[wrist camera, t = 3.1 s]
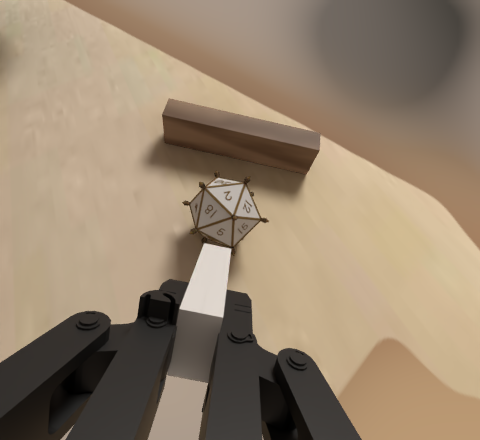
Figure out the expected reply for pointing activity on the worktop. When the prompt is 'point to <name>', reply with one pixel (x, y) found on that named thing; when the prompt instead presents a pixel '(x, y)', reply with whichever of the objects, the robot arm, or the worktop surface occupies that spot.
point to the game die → (224, 211)
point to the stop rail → (239, 136)
